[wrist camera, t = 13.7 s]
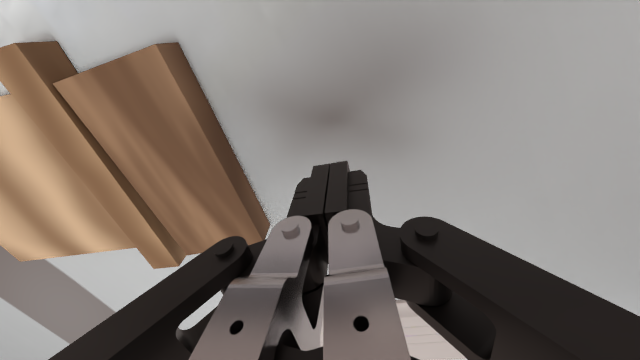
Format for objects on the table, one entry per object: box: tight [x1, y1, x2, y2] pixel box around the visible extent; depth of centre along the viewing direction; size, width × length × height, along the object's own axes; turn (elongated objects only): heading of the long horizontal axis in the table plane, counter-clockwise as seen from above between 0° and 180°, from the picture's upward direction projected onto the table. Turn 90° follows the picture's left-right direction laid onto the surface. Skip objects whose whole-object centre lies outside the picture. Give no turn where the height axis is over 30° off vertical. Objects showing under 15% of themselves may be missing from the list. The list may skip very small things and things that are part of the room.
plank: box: [53, 42, 270, 255], centre depth 18 cm, size 2×14×7 cm
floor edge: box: [0, 41, 186, 269], centre depth 19 cm, size 16×17×2 cm
